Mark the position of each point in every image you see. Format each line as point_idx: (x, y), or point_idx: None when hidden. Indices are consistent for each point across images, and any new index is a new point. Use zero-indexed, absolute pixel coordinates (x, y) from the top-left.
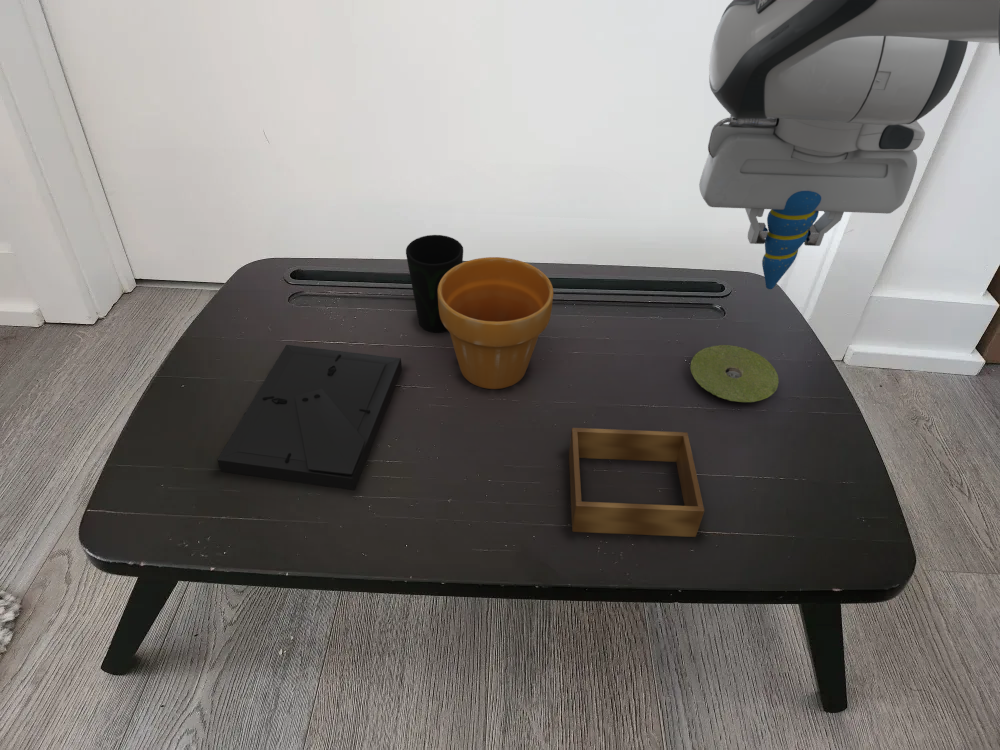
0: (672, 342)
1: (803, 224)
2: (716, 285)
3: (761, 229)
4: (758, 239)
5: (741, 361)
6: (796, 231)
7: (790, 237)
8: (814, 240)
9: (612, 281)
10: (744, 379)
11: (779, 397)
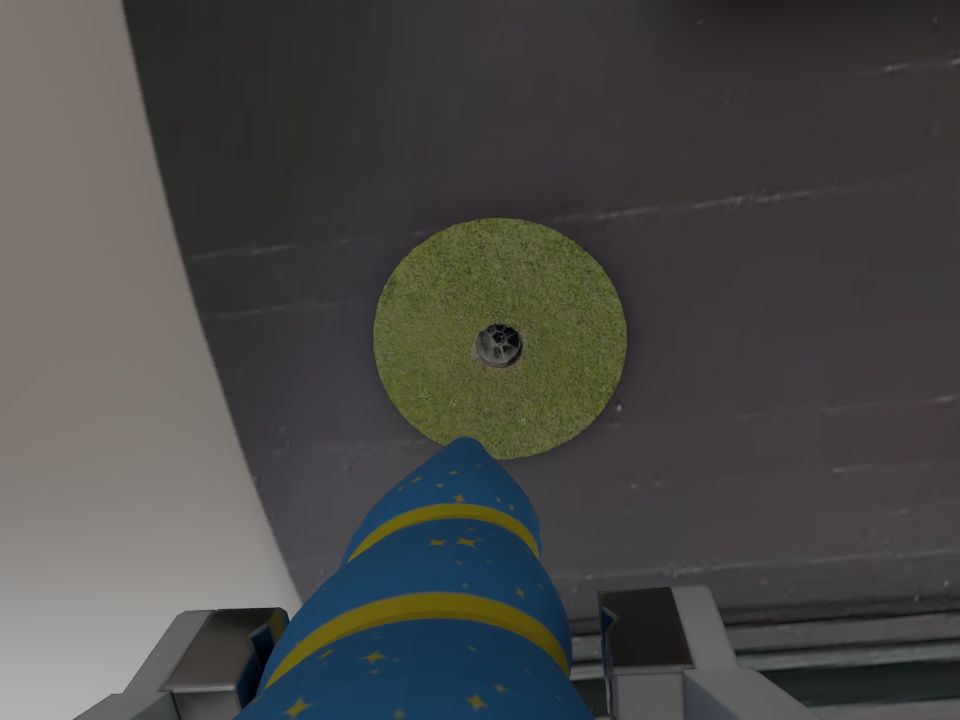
0: (647, 476)
1: (305, 709)
2: None
3: (670, 690)
4: (662, 608)
5: (472, 395)
6: (374, 644)
7: (417, 610)
8: (214, 636)
9: None
10: (471, 320)
11: (370, 293)
